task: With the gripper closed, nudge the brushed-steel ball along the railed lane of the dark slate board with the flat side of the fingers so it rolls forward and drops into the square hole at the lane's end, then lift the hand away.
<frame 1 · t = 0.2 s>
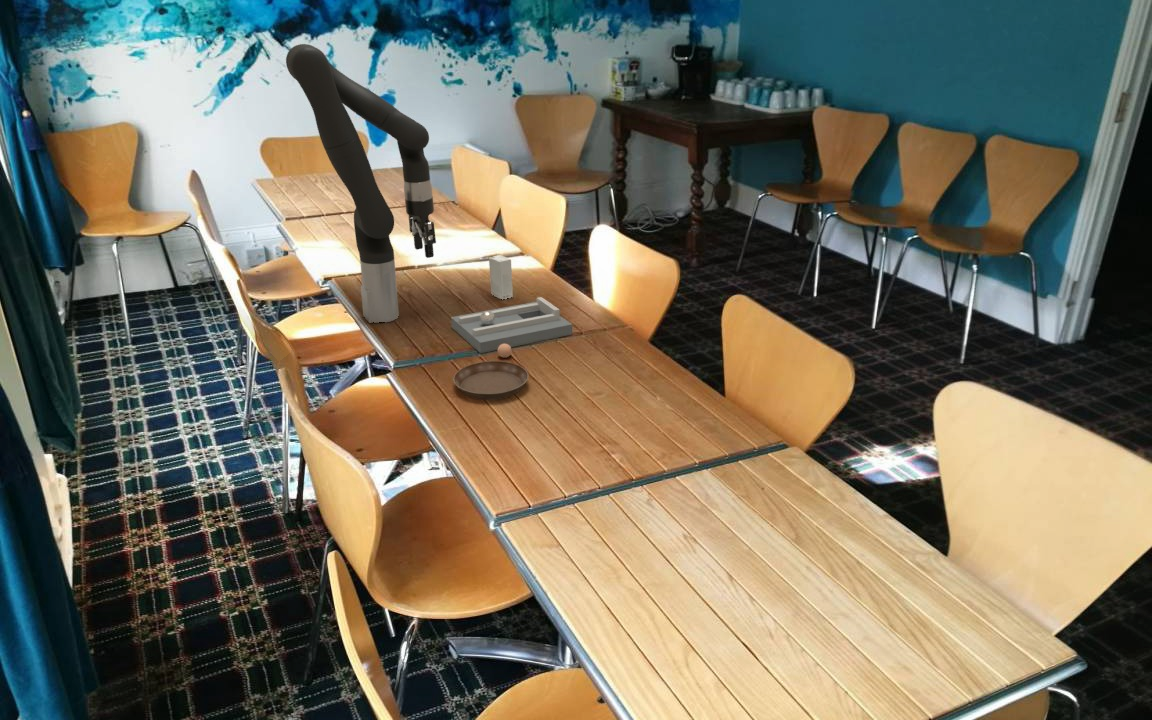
hand: (424, 252, 247), 17 cm above the table, tool pointing down, fingers open, 8 cm apart
plant saucer: (491, 388, 210), on the table
steel ball: (487, 318, 236), point 5 cm above the table, touching slate board
slate board: (511, 330, 241), on the table
terracotta ball: (504, 350, 224), point 2 cm above the table
skincare box: (501, 297, 266), on the table
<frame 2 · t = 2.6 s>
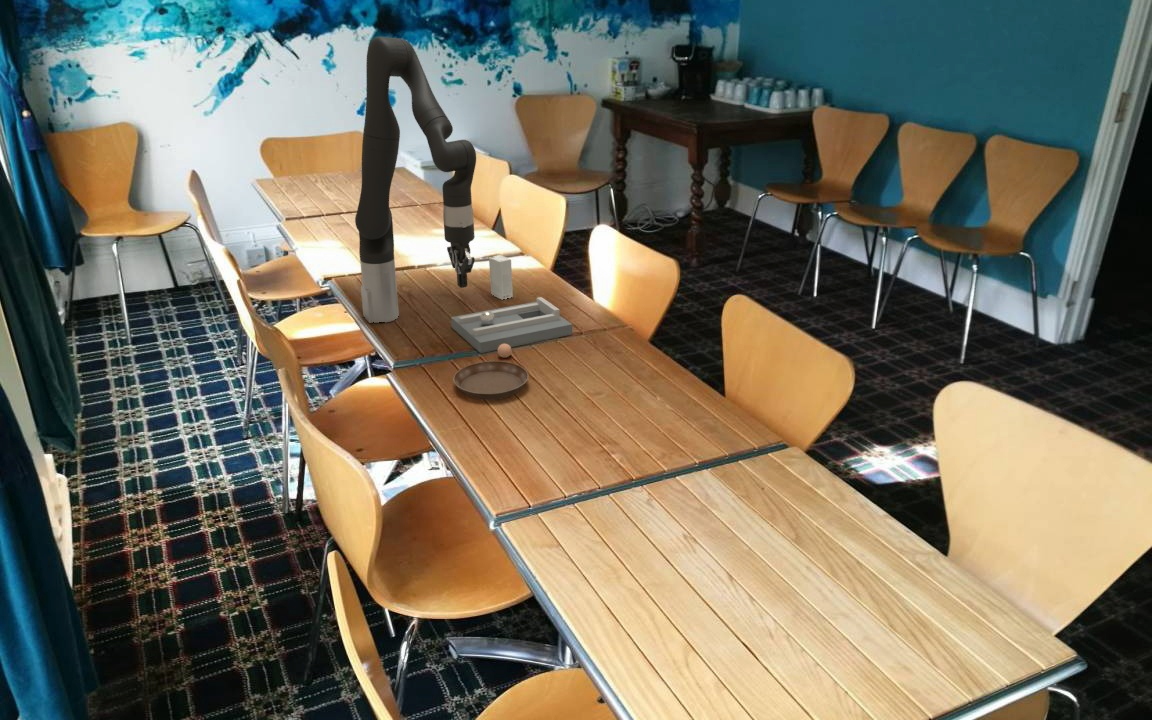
hand: (462, 286, 229), 15 cm above the table, tool pointing down, fingers closed
nothing on the table moved.
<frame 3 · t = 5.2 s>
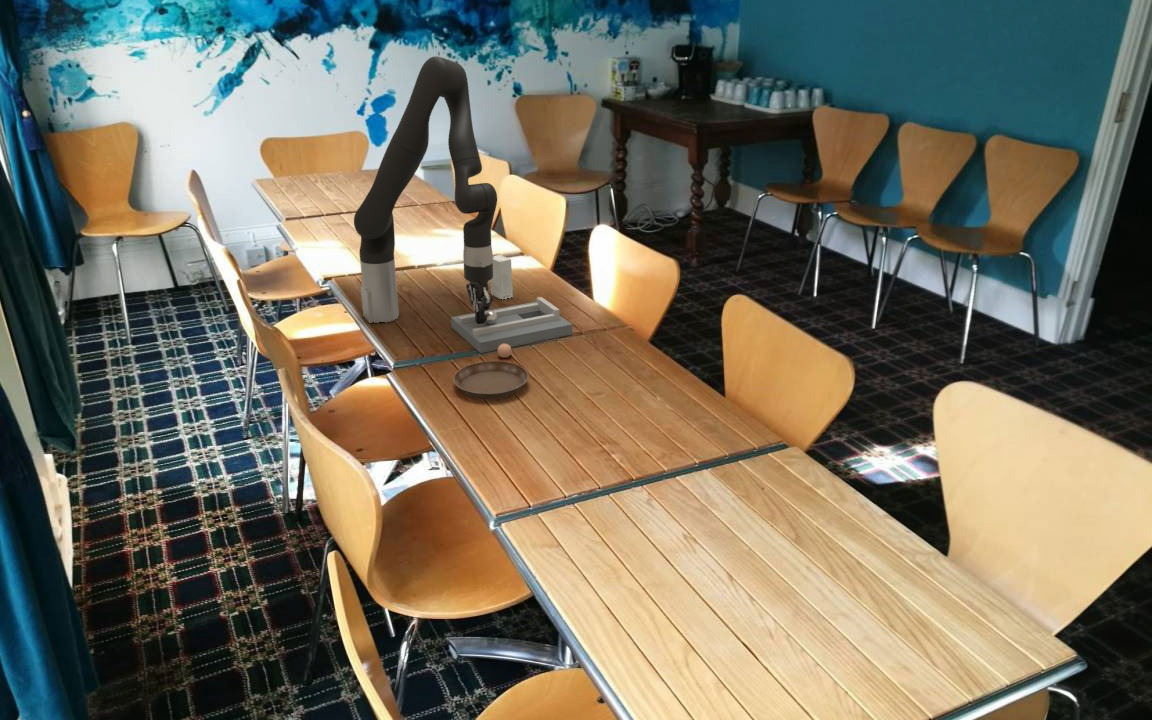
hand: (480, 323, 235), 4 cm above the table, tool pointing down, fingers closed
steel ball: (490, 317, 236), point 5 cm above the table, tilted 21°, touching gripper, slate board
everything else where it was.
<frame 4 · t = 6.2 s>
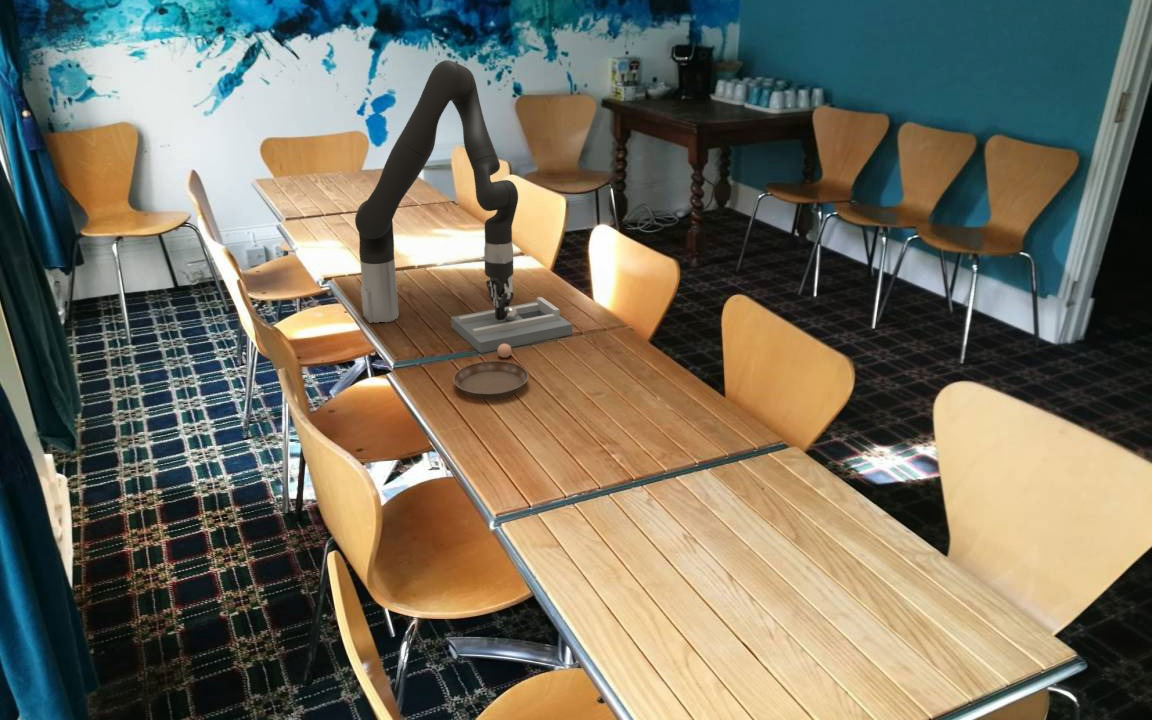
hand: (500, 319, 237), 4 cm above the table, tool pointing down, fingers closed
steel ball: (510, 314, 239), point 5 cm above the table, tilted 152°, touching gripper, slate board
everything else where it was.
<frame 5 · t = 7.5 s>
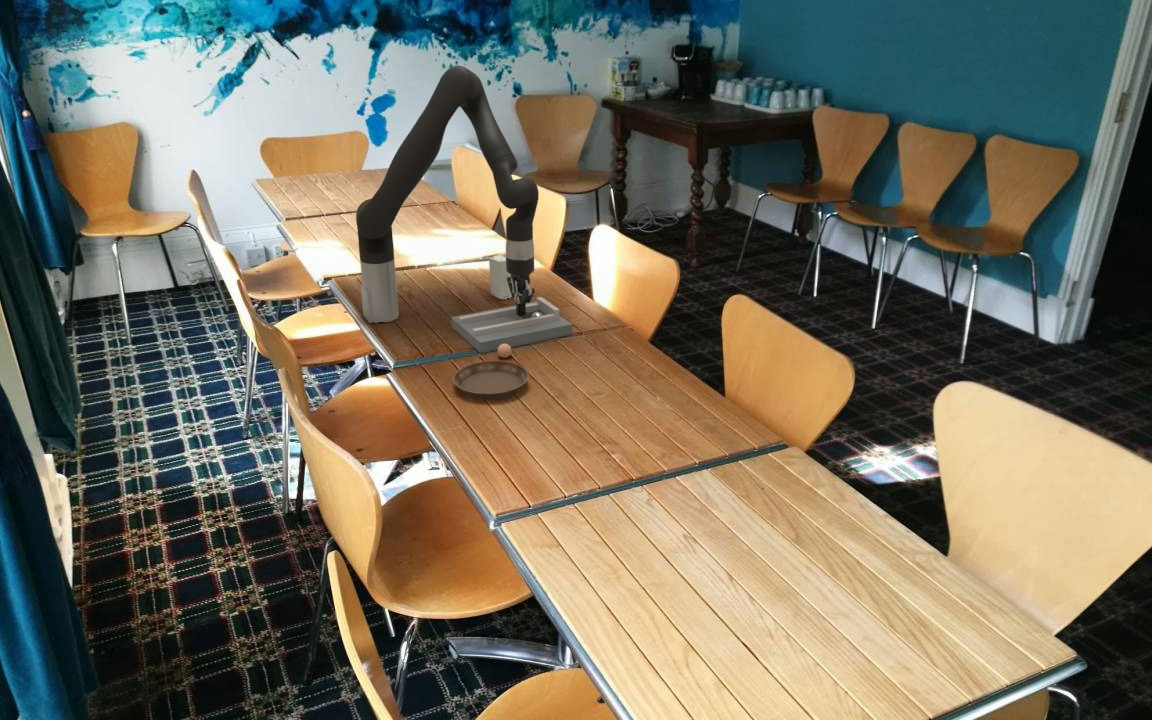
hand: (521, 315, 240), 4 cm above the table, tool pointing down, fingers closed
steel ball: (537, 319, 244), point 2 cm above the table, tilted 31°
everything else where it was.
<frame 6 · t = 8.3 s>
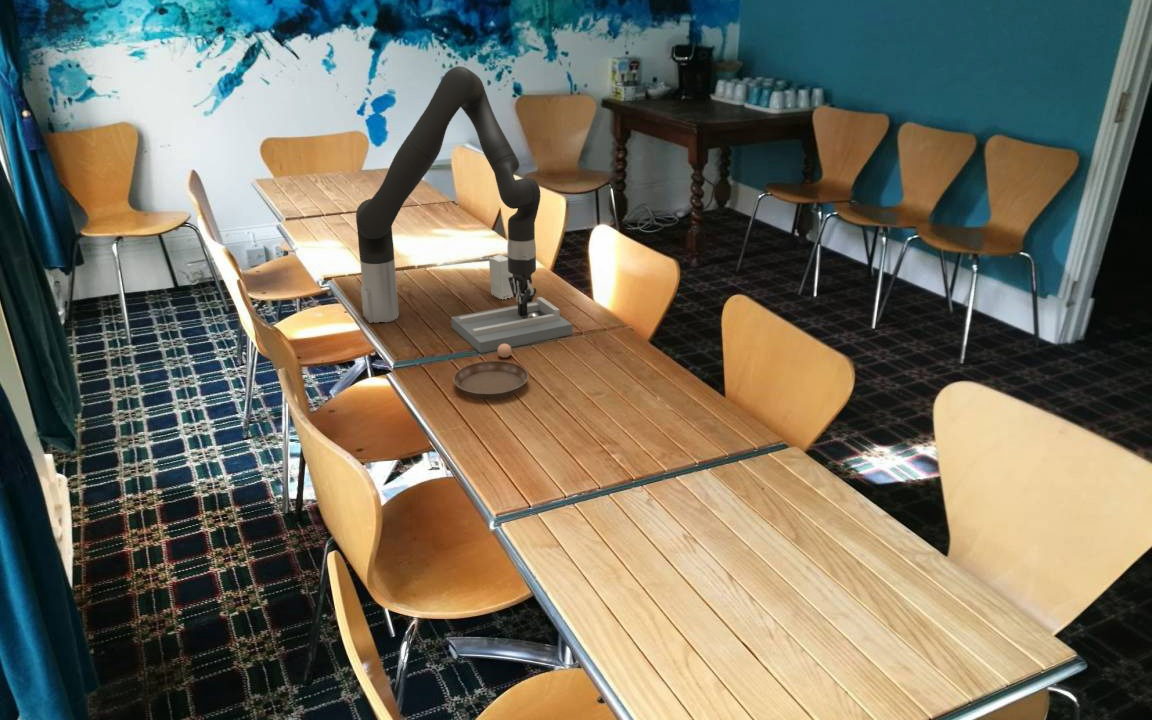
hand: (522, 315, 241), 4 cm above the table, tool pointing down, fingers closed
steel ball: (533, 319, 243), point 2 cm above the table
everything else where it was.
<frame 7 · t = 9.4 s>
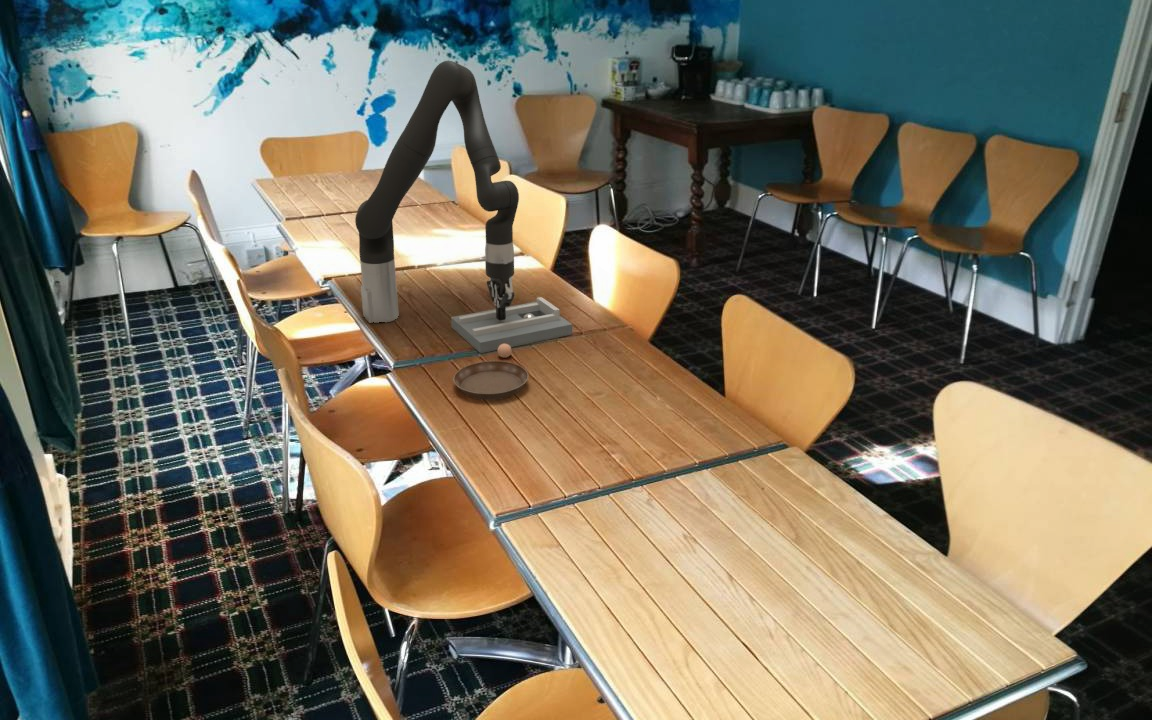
hand: (500, 319, 238), 4 cm above the table, tool pointing down, fingers closed
steel ball: (529, 320, 243), point 2 cm above the table, tilted 42°
everything else where it was.
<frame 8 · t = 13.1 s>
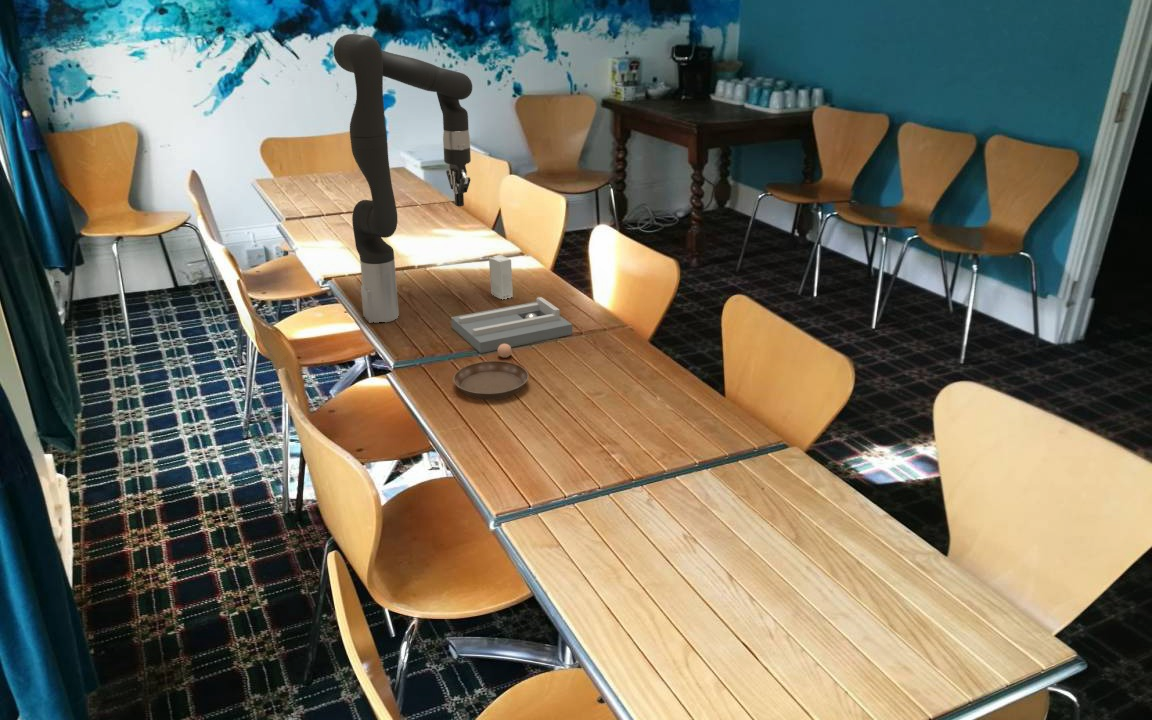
hand: (459, 205, 257), 27 cm above the table, tool pointing down, fingers closed
steel ball: (531, 320, 243), point 2 cm above the table, tilted 24°
everything else where it was.
at the end: steel ball 0.8 cm from the target spot on the slate board, point 2.0 cm above the slate board's base; steel ball point 2.0 cm above the table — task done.
